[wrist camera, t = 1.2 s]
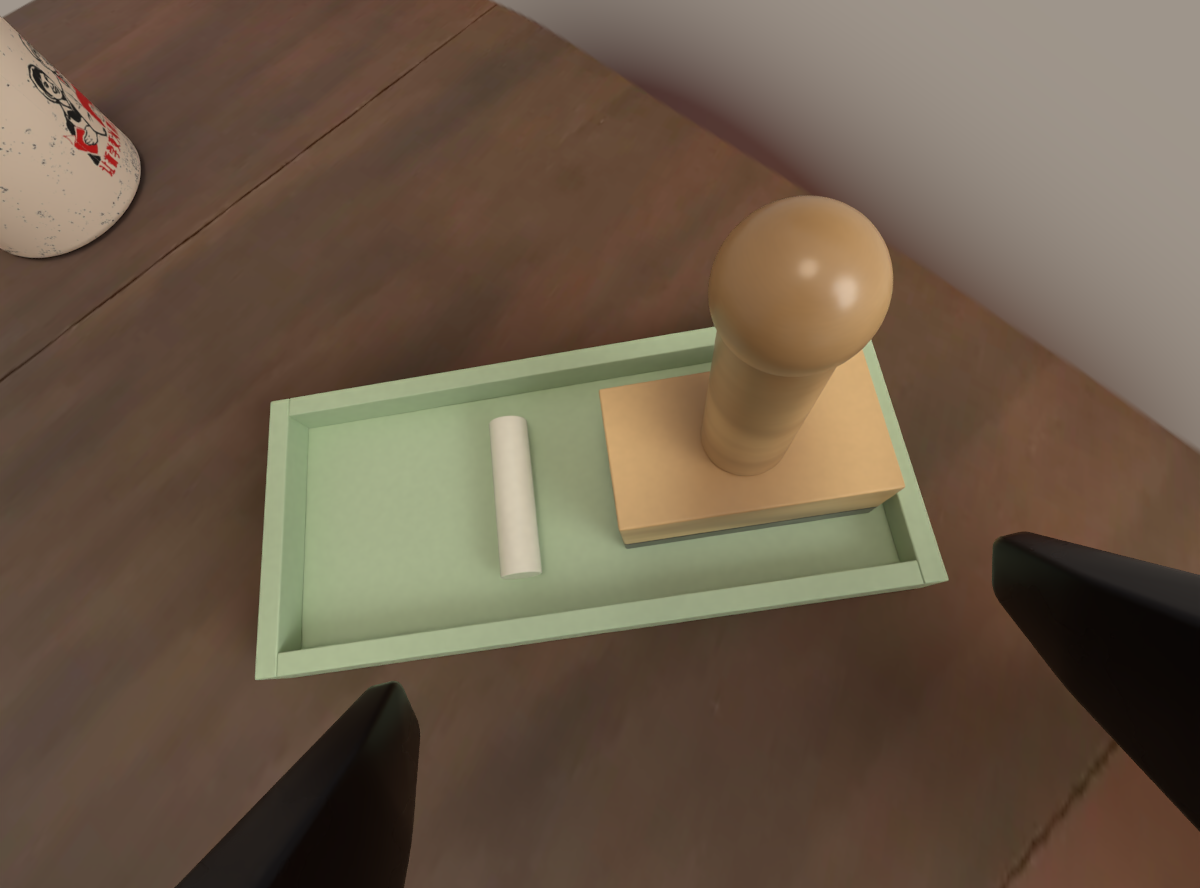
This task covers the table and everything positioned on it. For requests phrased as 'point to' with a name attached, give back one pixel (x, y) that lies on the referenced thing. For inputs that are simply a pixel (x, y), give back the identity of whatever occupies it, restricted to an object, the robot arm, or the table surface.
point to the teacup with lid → (55, 158)
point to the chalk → (514, 498)
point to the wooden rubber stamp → (765, 389)
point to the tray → (564, 517)
